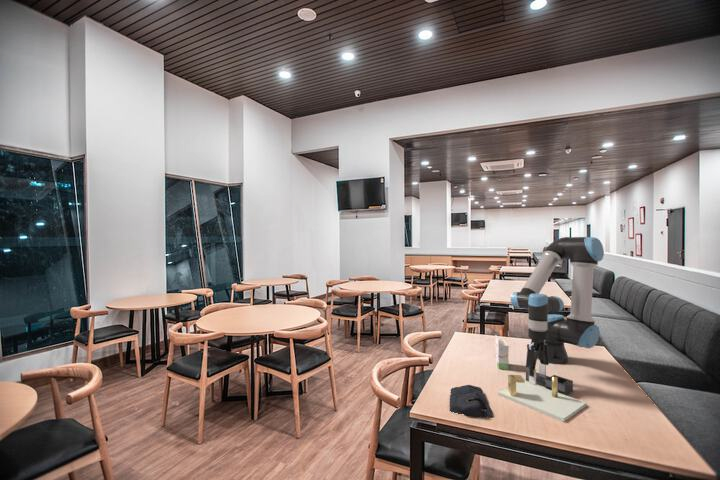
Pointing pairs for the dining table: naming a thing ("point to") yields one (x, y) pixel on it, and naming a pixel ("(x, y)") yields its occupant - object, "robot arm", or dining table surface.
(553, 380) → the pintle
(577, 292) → the robot arm
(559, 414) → the board
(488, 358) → the dining table surface
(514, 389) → the block
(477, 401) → the black flat irregular piece
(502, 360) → the ink box
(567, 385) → the link
